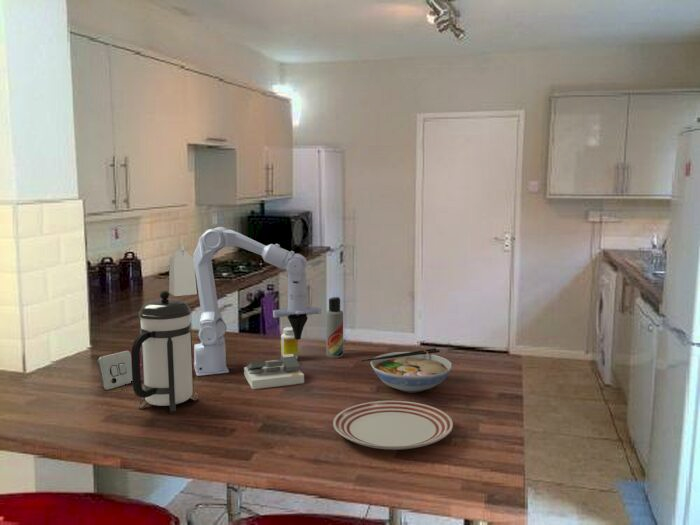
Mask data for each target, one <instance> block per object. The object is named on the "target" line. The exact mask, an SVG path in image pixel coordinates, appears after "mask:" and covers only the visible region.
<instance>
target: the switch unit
mask: <svg viewBox="0 0 700 525" xmlns="http://www.w3.org/2000/svg"><path fill="white" fill-rule="evenodd" d="M243 371H244V372H243V375H244V377H245V379H246V380H247V382H248V385H249V386H250V388H251V389H252V390H258V389H265V388H267V389H268V388H275V387H284V386H291V385H292V386H293V385H299V384H305V373H303V372H302V371H301V369H300V370H297V371H288V372H286V370H285V368H284V365H283V366H277V367H263V368H261V369H254V370H248V368H247V366H244V367H243Z"/></svg>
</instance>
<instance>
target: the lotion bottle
mask: <svg viewBox="0 0 700 525" xmlns="http://www.w3.org/2000/svg"><path fill="white" fill-rule="evenodd" d="M325 336H326V337H325V338H326V340H325V341H326V342H325V344H326V345H325V346H326V347H325V350H326V353H325V355H326V357H327V358H330V359H339V357H340V358H343V356H344V311H342V310H341V298H340V297H339V296H334V297H333V296H332V297H330V298H328V310H326V312H325Z"/></svg>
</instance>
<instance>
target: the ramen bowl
mask: <svg viewBox="0 0 700 525" xmlns="http://www.w3.org/2000/svg"><path fill="white" fill-rule="evenodd" d="M437 353H440V349H437V348H436V347H434V348H429V349H427V348H426V349H423V350H414V351H396V352H389V353H384V354H380V355H377V356H375V357H373V358H368V359H361V360H360V362H369V361H370V366H371V367H372V369H373V371H374V373H375V374H376V376H377V377H378V379H379V380H380V381H381V382H382V383H384V384H385V385H387V386H389V387H391V388H393V389H396V390H399V391H400V392H403V393H404V392H405V393H410V394H413V393H420V392H423V391H425V390H426V391H427V390H430V389H432V388H434V387H436V386H438V385H439V384H441V383H442V382H443V381H444V380H445V379H446V378H447V377H448V375H449V374H450V372H451V370H452V367H453V366H452V365H453V364H452V362H451V361H450V360H449V359H448V358H446V357H442V356H440V355H437Z"/></svg>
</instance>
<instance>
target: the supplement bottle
mask: <svg viewBox="0 0 700 525" xmlns="http://www.w3.org/2000/svg"><path fill="white" fill-rule="evenodd" d="M286 354H294V355H295V357H296V359H297V360H298V359H299V340H296V339H295V337H294V332H293V329H292V326H290V327H289V326H287V327H284V328H283V332H282V334H281V335H280V356H281V355H286Z"/></svg>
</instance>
